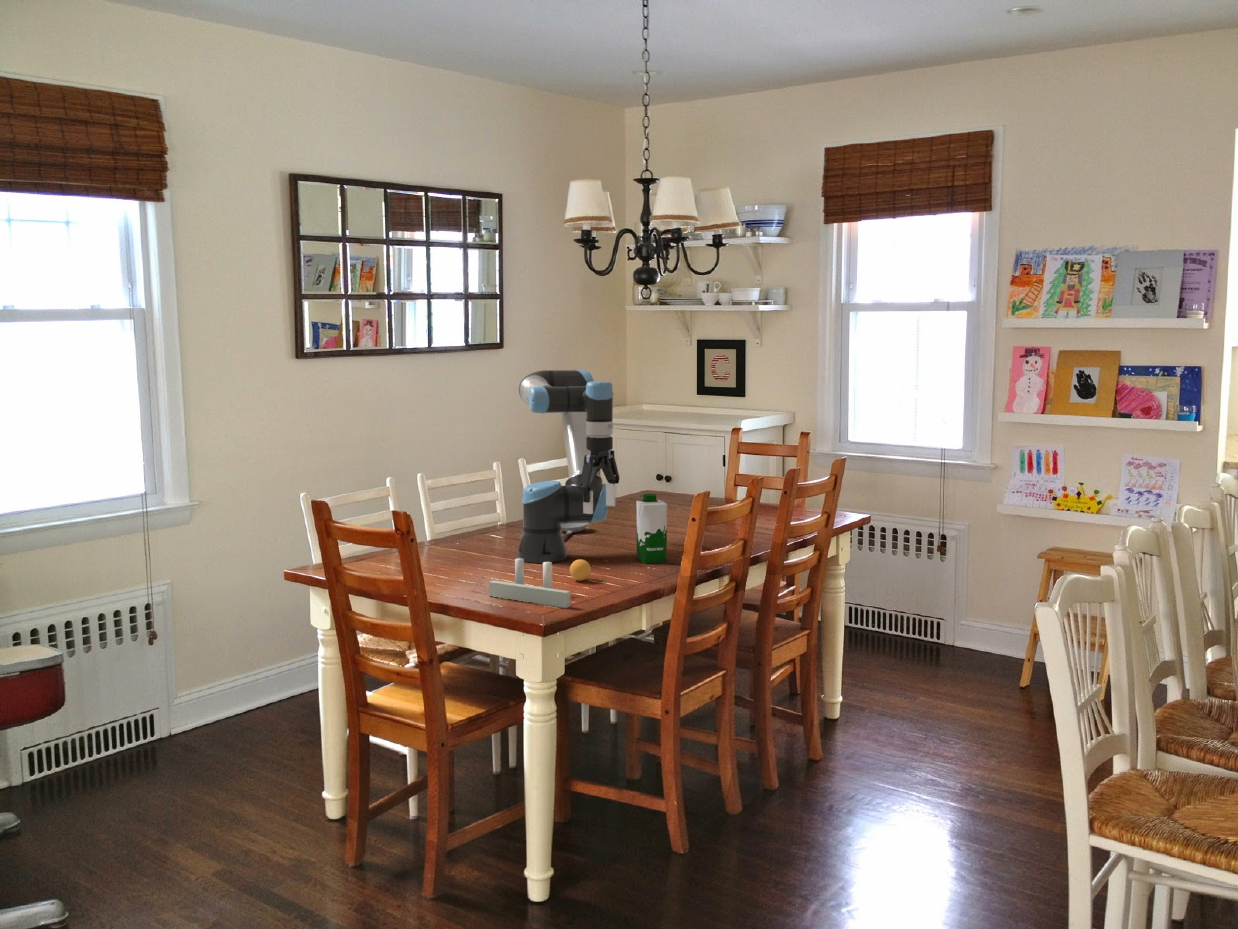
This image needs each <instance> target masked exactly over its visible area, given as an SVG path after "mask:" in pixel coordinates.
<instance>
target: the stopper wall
mask: <svg viewBox="0 0 1238 929" xmlns="http://www.w3.org/2000/svg"><path fill="white" fill-rule="evenodd" d="M488 596H493V597H492V598H494V597H498V598H497V599H501V598H503V600H508V599H514V600H519V601H518V602H521V601H523V603H528V602H534V603H538V604H537V605H541V604H542V606H543V605H544V606H548V607H549V606H550V607H554V606H555V608H562V609H568V608H570V607H571V590H566V589H565V590H564V589H557V588H552V589H551V588H544V587H543V586H535V585H530V584H529V585H528V584H524V585H522V584H515V582H507V581H500V580H490V581H488ZM514 600H513V601H514ZM534 603H533V604H534Z"/></svg>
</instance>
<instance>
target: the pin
mask: <svg viewBox="0 0 1238 929" xmlns="http://www.w3.org/2000/svg"><path fill="white" fill-rule="evenodd" d="M542 587H544V588H551V589H553V562H543V563H542Z"/></svg>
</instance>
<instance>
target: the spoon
mask: <svg viewBox="0 0 1238 929" xmlns="http://www.w3.org/2000/svg"><path fill="white" fill-rule="evenodd" d="M589 524H590V523H564V524H561V532H565V534H564V535H562V537H563V540H564V543H565V542H566V541H567V540H568V538H569V537H570V535H572V534H576V533H580V532H582V531H583V530H585V529H586V528H587V527H588V525H589Z"/></svg>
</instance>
